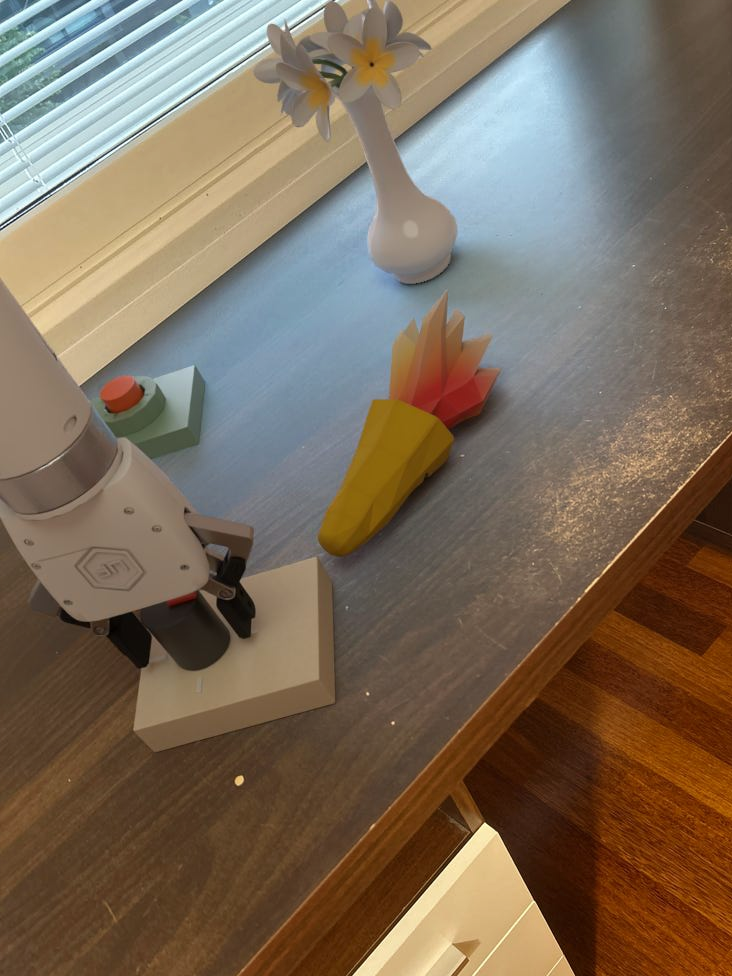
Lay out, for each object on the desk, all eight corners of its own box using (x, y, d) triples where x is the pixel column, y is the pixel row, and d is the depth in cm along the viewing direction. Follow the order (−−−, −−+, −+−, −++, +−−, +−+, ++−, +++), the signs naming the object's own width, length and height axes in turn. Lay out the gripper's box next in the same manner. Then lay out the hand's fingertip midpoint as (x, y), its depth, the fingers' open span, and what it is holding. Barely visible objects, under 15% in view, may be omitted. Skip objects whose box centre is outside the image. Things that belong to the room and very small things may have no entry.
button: (107, 419, 97) (97, 404, 95) (112, 396, 99) (102, 381, 98) (142, 407, 96) (132, 393, 95) (145, 385, 99) (136, 370, 97)
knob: (173, 677, 73) (134, 633, 70) (177, 632, 76) (140, 586, 72) (229, 662, 73) (193, 615, 69) (232, 616, 76) (197, 569, 72)
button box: (84, 480, 98) (60, 450, 95) (98, 417, 104) (75, 386, 101) (199, 444, 96) (177, 411, 93) (205, 382, 103) (185, 349, 100)
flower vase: (381, 227, 112) (285, -21, 93) (522, 236, 103) (446, -37, 84) (313, 299, 107) (197, 52, 88) (455, 316, 97) (359, 43, 79)
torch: (357, 596, 83) (474, 366, 92) (411, 584, 77) (531, 338, 86) (276, 538, 79) (407, 303, 88) (326, 520, 73) (461, 270, 82)
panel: (154, 753, 74) (131, 729, 71) (168, 629, 81) (148, 604, 79) (335, 703, 72) (318, 677, 69) (332, 581, 79) (316, 554, 77)
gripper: (-93, 542, 59) (81, 710, 73) (180, 456, 57) (308, 646, 70) (-63, 460, 64) (95, 631, 78) (190, 377, 62) (308, 569, 75)
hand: (195, 637), depth 74 cm, fingers open, 7 cm apart
